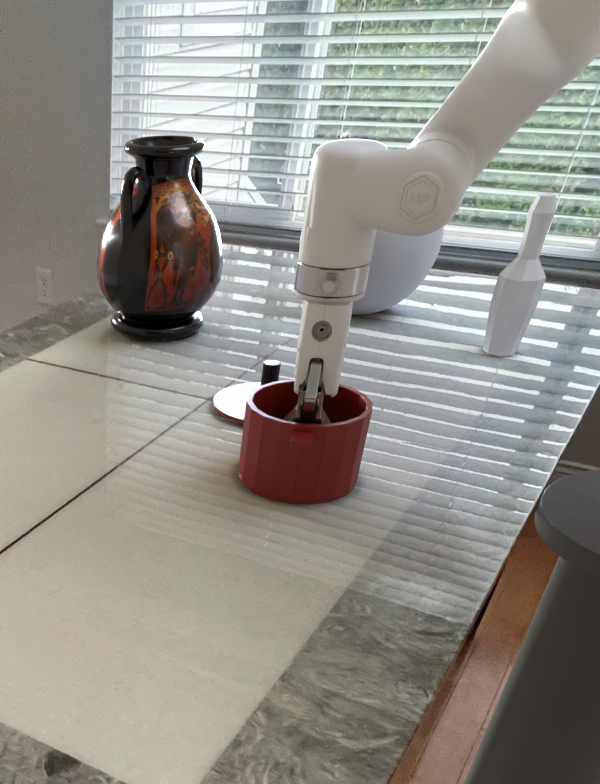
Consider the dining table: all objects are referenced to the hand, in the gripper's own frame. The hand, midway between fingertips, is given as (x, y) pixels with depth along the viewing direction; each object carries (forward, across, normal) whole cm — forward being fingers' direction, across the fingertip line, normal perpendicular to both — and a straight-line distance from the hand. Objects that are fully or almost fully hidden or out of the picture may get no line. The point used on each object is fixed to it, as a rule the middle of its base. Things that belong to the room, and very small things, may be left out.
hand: (304, 438), depth 102 cm
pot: (+5, +73, -5) cm, 73 cm away
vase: (+4, 0, 0) cm, 4 cm away
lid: (+4, +21, +6) cm, 22 cm away
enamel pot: (+5, 0, 0) cm, 5 cm away
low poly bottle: (+5, +53, -28) cm, 60 cm away
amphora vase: (+5, +54, +29) cm, 62 cm away
